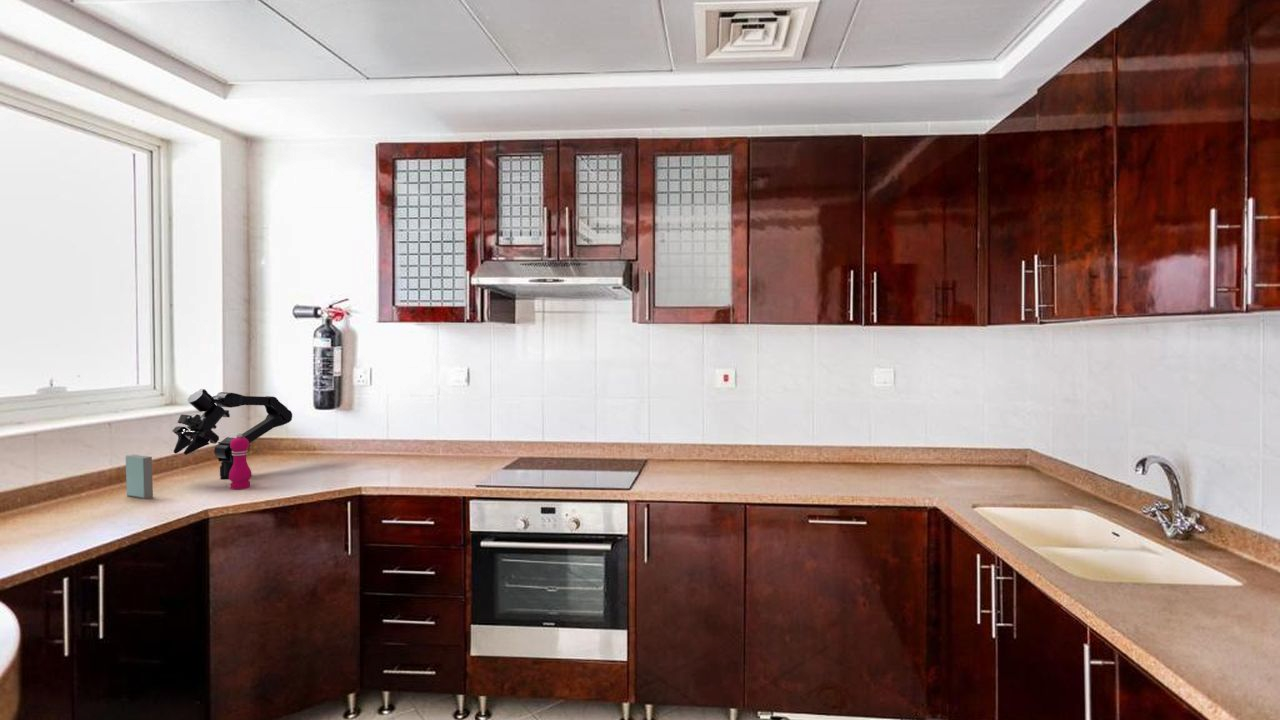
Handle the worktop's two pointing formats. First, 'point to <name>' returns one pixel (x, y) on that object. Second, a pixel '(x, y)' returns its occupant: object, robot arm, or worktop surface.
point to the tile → (139, 476)
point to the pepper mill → (239, 463)
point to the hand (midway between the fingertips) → (179, 453)
